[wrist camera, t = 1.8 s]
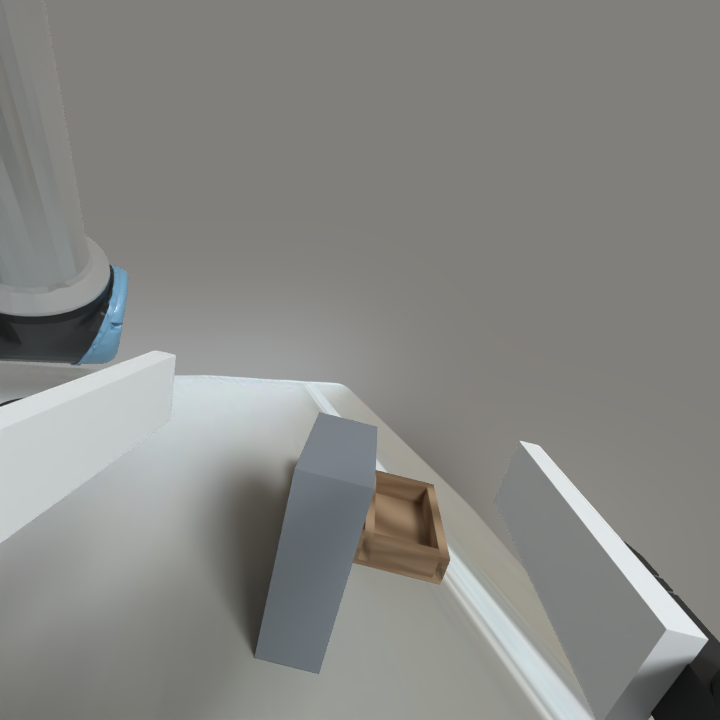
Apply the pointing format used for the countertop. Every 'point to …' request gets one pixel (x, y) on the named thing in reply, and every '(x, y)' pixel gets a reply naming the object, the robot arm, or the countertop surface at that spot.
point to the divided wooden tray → (404, 530)
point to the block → (318, 541)
